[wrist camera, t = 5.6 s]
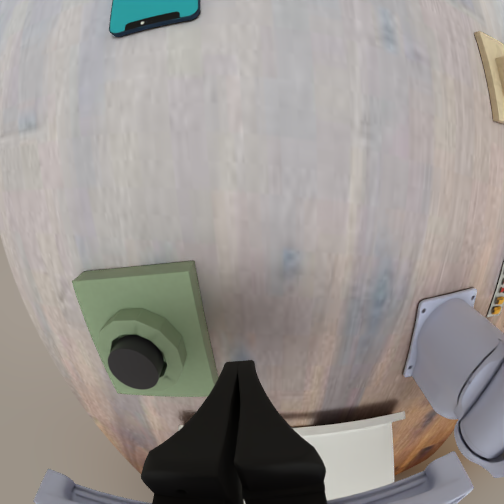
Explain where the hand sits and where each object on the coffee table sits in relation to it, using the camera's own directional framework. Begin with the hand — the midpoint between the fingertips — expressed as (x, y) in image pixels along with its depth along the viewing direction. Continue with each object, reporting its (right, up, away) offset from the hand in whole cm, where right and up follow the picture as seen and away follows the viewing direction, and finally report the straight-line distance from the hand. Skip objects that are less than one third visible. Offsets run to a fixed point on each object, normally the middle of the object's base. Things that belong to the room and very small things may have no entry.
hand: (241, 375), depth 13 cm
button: (-8, -2, +6) cm, 10 cm away
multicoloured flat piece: (+30, +2, +10) cm, 31 cm away
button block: (-8, -1, +10) cm, 13 cm away
